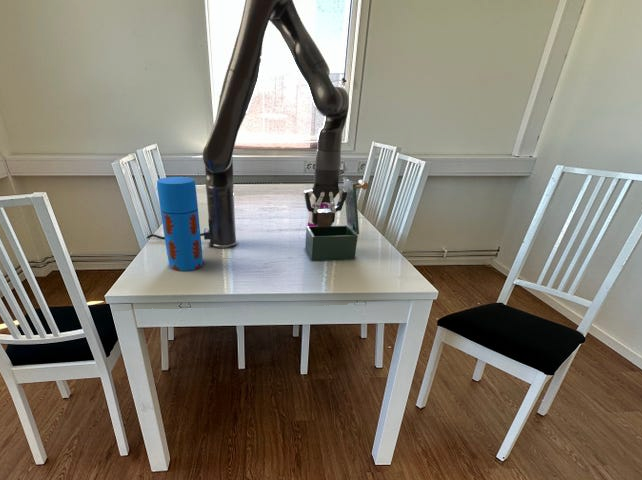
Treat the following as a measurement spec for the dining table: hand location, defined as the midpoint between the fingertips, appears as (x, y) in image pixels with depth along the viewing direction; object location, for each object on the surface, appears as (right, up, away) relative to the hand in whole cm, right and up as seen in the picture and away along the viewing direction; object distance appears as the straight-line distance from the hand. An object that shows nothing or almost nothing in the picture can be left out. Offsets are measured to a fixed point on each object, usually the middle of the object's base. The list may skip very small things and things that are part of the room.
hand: (322, 224), depth 129 cm
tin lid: (+8, +5, -2) cm, 10 cm away
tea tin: (+3, -8, +6) cm, 11 cm away
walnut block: (0, 0, 0) cm, 0 cm away
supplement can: (+1, +3, +22) cm, 22 cm away
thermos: (-44, -14, -3) cm, 46 cm away
